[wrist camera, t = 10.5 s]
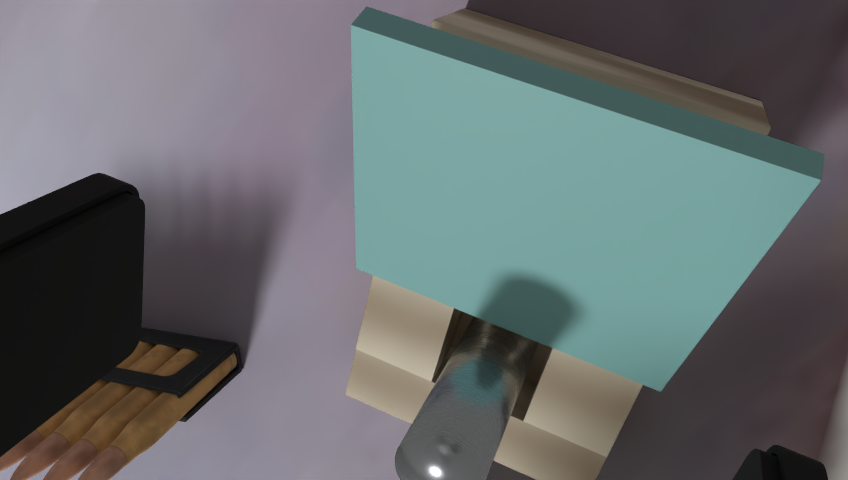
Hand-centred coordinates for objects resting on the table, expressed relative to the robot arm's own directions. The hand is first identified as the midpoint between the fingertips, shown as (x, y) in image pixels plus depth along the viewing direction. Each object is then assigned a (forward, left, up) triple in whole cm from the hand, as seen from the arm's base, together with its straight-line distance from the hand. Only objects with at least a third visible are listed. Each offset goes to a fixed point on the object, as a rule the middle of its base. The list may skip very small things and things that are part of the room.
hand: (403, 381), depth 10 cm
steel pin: (-12, 0, -20) cm, 23 cm away
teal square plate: (-3, 0, -14) cm, 15 cm away
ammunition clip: (-23, +19, -21) cm, 36 cm away
